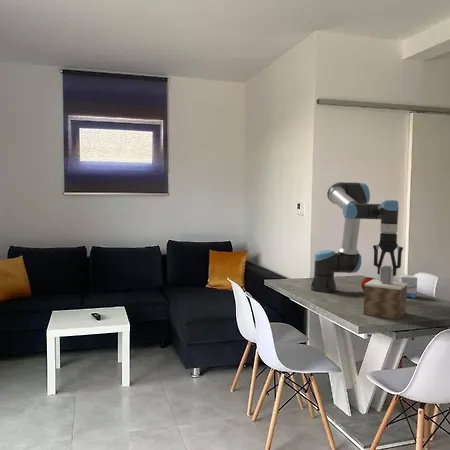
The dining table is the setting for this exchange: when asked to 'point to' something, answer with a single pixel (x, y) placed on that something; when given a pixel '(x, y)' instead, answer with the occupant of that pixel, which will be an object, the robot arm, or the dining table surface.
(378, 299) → the crate
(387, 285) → the lid
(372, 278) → the apple
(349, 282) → the dining table surface
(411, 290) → the ink box
